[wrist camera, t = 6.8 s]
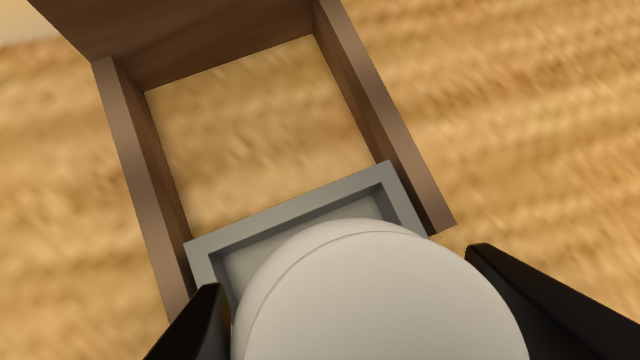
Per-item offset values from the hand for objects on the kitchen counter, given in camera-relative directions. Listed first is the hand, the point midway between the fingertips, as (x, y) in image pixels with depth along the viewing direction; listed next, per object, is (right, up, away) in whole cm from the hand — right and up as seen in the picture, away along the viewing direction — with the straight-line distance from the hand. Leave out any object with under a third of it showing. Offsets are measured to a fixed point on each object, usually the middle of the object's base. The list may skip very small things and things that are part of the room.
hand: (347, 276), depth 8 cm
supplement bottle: (0, -3, +6) cm, 7 cm away
